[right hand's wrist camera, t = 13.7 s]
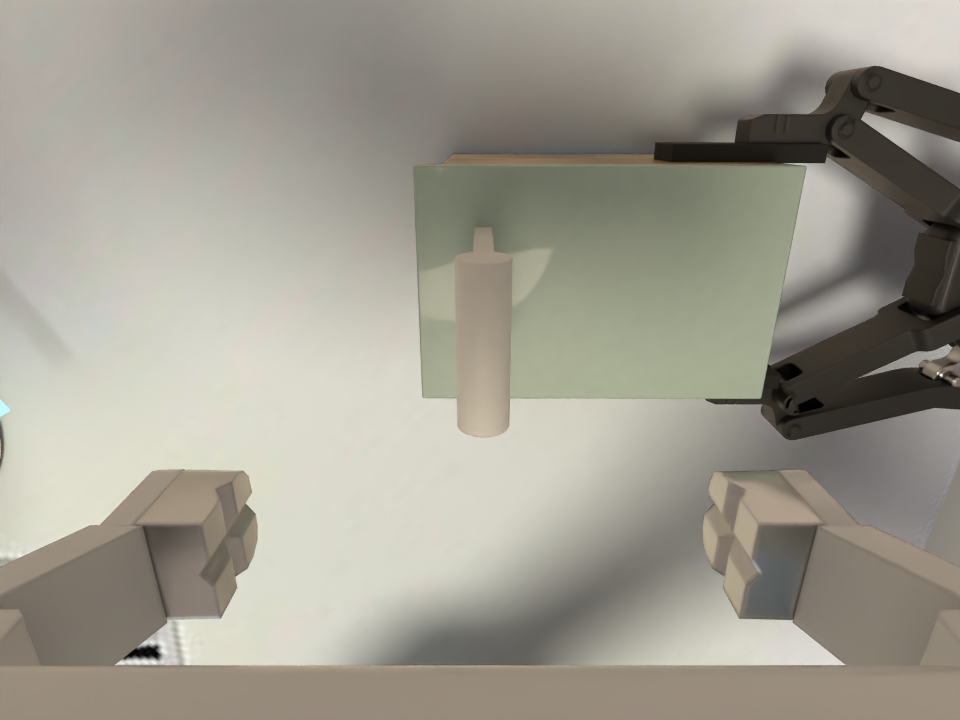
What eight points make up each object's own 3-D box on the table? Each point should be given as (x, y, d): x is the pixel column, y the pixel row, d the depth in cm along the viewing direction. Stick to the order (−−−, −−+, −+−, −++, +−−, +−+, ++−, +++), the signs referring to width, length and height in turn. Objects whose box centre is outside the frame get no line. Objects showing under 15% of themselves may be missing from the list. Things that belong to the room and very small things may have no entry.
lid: (424, 387, 27) (400, 495, 19) (416, 164, 23) (382, 181, 15) (749, 388, 27) (862, 497, 19) (792, 164, 23) (952, 182, 15)
